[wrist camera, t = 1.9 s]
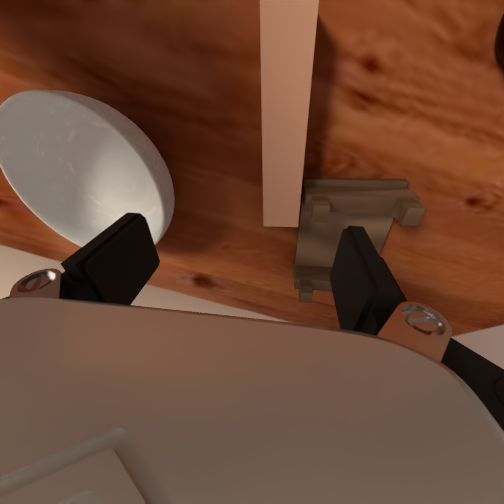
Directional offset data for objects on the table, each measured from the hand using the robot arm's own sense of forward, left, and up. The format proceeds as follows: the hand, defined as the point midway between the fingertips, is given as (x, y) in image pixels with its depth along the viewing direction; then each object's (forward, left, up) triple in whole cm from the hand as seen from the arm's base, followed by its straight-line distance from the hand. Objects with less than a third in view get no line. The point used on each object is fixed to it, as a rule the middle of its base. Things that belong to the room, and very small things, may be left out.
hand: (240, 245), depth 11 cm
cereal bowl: (+2, -18, -18) cm, 25 cm away
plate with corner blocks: (+10, +10, -18) cm, 23 cm away
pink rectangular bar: (-2, +2, -18) cm, 18 cm away
